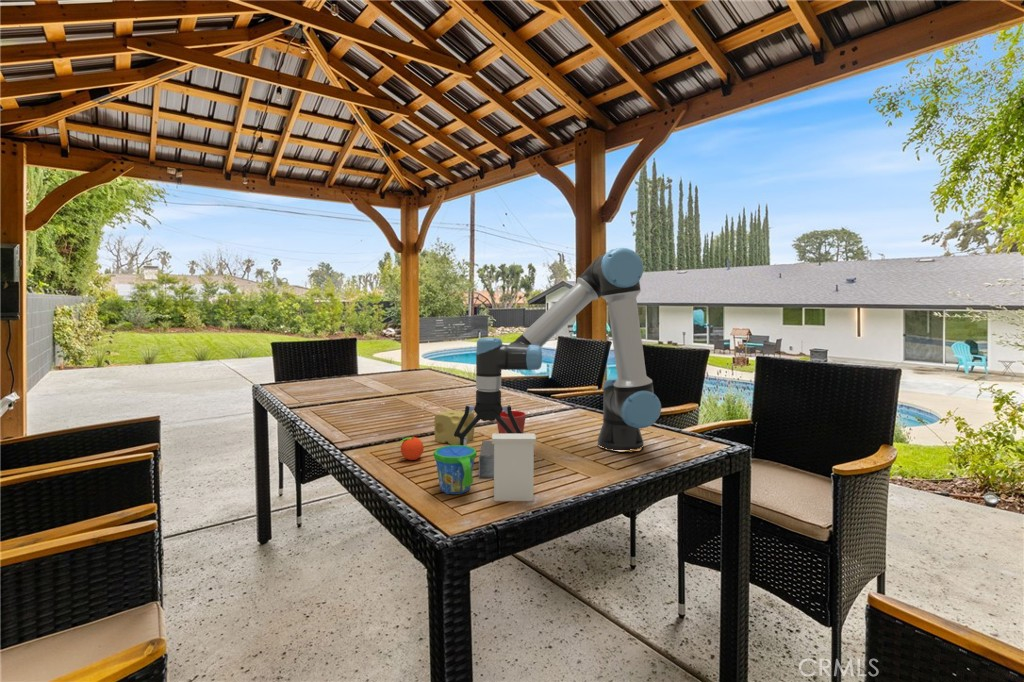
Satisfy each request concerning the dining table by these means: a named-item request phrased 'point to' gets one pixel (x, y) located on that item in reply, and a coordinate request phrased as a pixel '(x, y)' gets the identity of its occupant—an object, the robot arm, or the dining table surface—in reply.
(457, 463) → the snack cup
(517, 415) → the flower pot
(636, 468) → the dining table surface
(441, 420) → the cheese
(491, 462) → the rail
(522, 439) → the tall white pillar
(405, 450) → the clementine
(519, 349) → the robot arm
